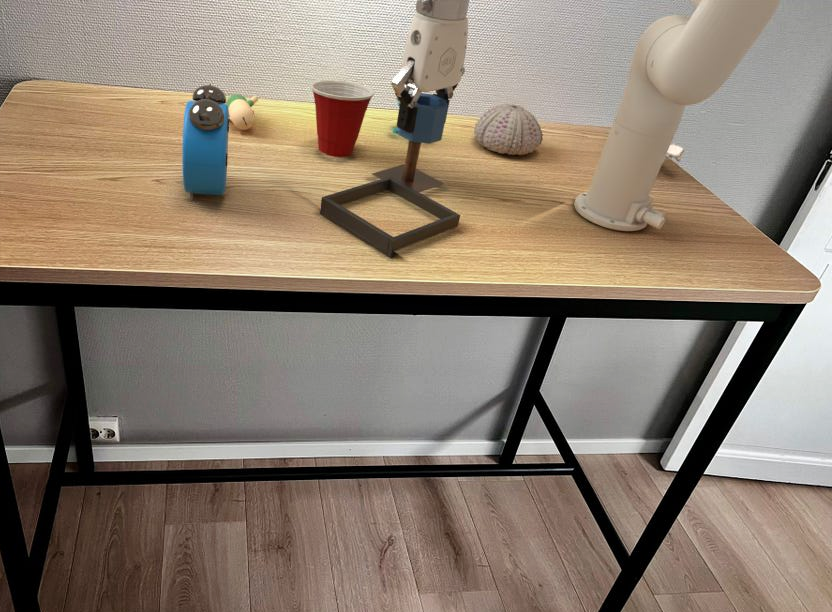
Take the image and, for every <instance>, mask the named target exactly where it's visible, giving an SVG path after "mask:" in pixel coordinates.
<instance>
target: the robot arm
mask: <svg viewBox="0 0 832 612" xmlns="http://www.w3.org/2000/svg"><path fill="white" fill-rule="evenodd" d="M781 1H782V0H689V2H690V3H691V4H692V5H693V6H694V7H695V8H696V9H695V10H694V12H693V13H692V15H691V16H687V15H683V14H670V15H666V16H663V17H660V18H659V19H657V20H655V21H654V22H652V23H651V24H649V26H648V27H647V28H646V29H645V30H644V32H643V33H642V34H641V36H640V37H639V39H638V42H637V43H636V45H635V48H634V51H633V53H632V59H631V63H630V66H629V70H628V75H627V79H626V83H625V87H624V91H623V94H622V96H621V100H620V103H619V105H618V108H617V111H616V114H615V117H614V119H613V121H612V124H611V126H610V130H609V133H608V136H607V138H606V141H605V143H604V147H603V149H602V152H601V155H600V158H599V160H598V163H597V166H596V169H595V171H594V173H593V177H592V180H591V183H590V185H589V188H588V190H587V191H585V192H581V193H580V194H578V195H577V196H576V197H575V200H574V203H573V206H574V209H575V211H576V212H577V213H578V214H579V215H580V216H581V217H583V218H584V219H585V220H587V221H589V222H591V223H593V224H595V225H598V226H600V227H602V228H607V229H609V230H613V231H620V232H636V231H640V230H643V229H644V228H646V227H647V226H648V225H649V226H651V227H653V228H655V229H657V230H661V229H662V228H663V226H664V224H665V223H666V218H665V212H662V211H661V210H658V209H656V208H654V207H653V205H652V203H653V201H654V199H655V198H654V197H652V196H650V193H651V192H652V189H653V187H654V184H655V182H656V179H657V178H658V175H659V172H660V170H661V168H662V166H663V164H664V162H665V160H664V158H665V159H666V156H667V154H668V153H667V151H668V149H669V146H670V144H671V145H672V143H673V142H672V141H673V139H674V136H675V135H676V133H677V131H678V129H679V126H680V123H681V121H682V118H683V115H684V112H685V109H686V106H691V105H696V104H700V103H702V102H703V101H705V100H707V99H709V98H710V97H712V96H713V95H714V94H715V93H716V92H718V91H719V89H720V88H722V86H724V84H725V83H726V81H727V80H729V78H730V76H731V75H733V73H734V72H735V70H736V68H737V67H738V66H739V64H740V63H741V61H742V60H743V59H744V57H745V56H746V54H747V53H748V52H749V50H750V49H751V48H752V46H753V45H754V43H756V41H757V39H758V38H759V36H761V34H762V33H763V31H764V30H765V28H766V27H767V26H768V24H769V22H770V21H771V20H772V18H773V17H774V15H775V14H776V12H777V9H778V7H779V6H780V3H781ZM470 2H471V1H470V0H416V4H415V11H414V12H415V13H414V15H413V17H412V21H411V24H410V27H409V31H408V34H407V39H406V42H405V47H404V51H403V56H402V62H401V69H400V70H399V71H398V73H397V74H396V75H395V76H394V78H393V79H392V80H391V87H392V89H393V92H394V94H395V96H396V98H398V101H397V103H398V102H399V103H400V107H399V106H398V114H397V118H396V119H397V120H396V128H397V127H398V128H400V129H402V130H404V131H406V132H408V133H412V132H413V131H414V127H415V121H416V115H417V107H415V105H416V103H417V101H418V99H419V97H420V95H421V93H429V92H434V91H435V93H433V95H435V96H437V97H440V98H442V99H444V100H446V101H447V105H448V109H447V114H446V119H445V123H446V121H447V116H448V112H449V106H450V100H452V99H453V98H454V91H455V90H456V89H457V87H458V85H459V83H460V82H461V79H462V77H463V76H464V74H465V72H466V68H465V67H464V66H465V60H466V54H467V47H468V46H467V45H468V37H469V36H468V35H469V19H468V17H467V15H468V10H469V5H470ZM411 90H413V92H412V93H413V94H412V96H410V91H411Z"/></svg>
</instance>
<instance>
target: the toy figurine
mask: <svg viewBox="0 0 832 612" xmlns="http://www.w3.org/2000/svg"><path fill="white" fill-rule="evenodd" d="M258 101H259V97H258V96H257V95H253V96H252V97H250V99H249V100H248V99H247V98H246V97H245V96H244V95H242V94H240V93H239V94H238V93H236V94H232V95H231V96H229V97H228V98H227V99H226V103H225V104H226V105H227V106H228V109H229V121H230V122H231V124H232V125H233V126H234V127H235V128H237V129H238V130H242V131H245V130H246V131H247V130H249V129H251V128H252V127H253V126H254V123H255V119H256V116H255V115H256V114H255V112H254V109H253V107H254V105H255V104H256V103H257V102H258Z"/></svg>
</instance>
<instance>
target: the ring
mask: <svg viewBox="0 0 832 612" xmlns="http://www.w3.org/2000/svg"><path fill="white" fill-rule="evenodd" d="M409 94H410V96H412V94H413V92H411V93H410V92H409ZM433 94H434V93H433ZM433 94H432V93H431V94H430V93H425V92H421V95H420V97H419V99H418V101H417V103H416V105H415V107H417V115H416V121H415V127H414V131H413V132H412V133H408V132H406V131H404V130H402V129H400V128H398V133H397V134H398V136H399V137H402V138H404V139H406V140H408V141H409V140H410V141H412V142H420V143H421V144H430V145H431V144H433V143H437V142H440V141H442V140H443V133H444V128H445V125H446V122H445V119H446V120H447V117H446V114H447V115H448V112H447V109H448V110H449V107H448V105H447V101H446V100H444V99H442V98H440V97H437V96H435V95H433Z"/></svg>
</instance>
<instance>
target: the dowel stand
mask: <svg viewBox="0 0 832 612" xmlns="http://www.w3.org/2000/svg"><path fill="white" fill-rule="evenodd" d="M407 144H408V145H407V149H406V156H405V159H404V160H405V161H404V163H403V164H400V165H396V166H393V167H389V168H385V169H383V170H379V171H376V172H371V175H372V176H374V177H376V178H377V179H378V180H380V179H383V178H387V177H392V178H394V179H395V180H397V181H399V182H401V183H403V184H405V185H406V186H408V187H410V188H412V189H414V190H415V191H417V192H419V193H422V192H425V191H428V190H430V189H433V188H436V187H440V186H442V185H445V182H443V181H441V180H439V179H437V178H435V177H433V176H431V175H429V174H428V173H426V172H424V171H421V170H420V169H418V168H417V166H418V160H419V156H420V151H421V145H422V143H420V142H412V141H410V140H408V143H407Z"/></svg>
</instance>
